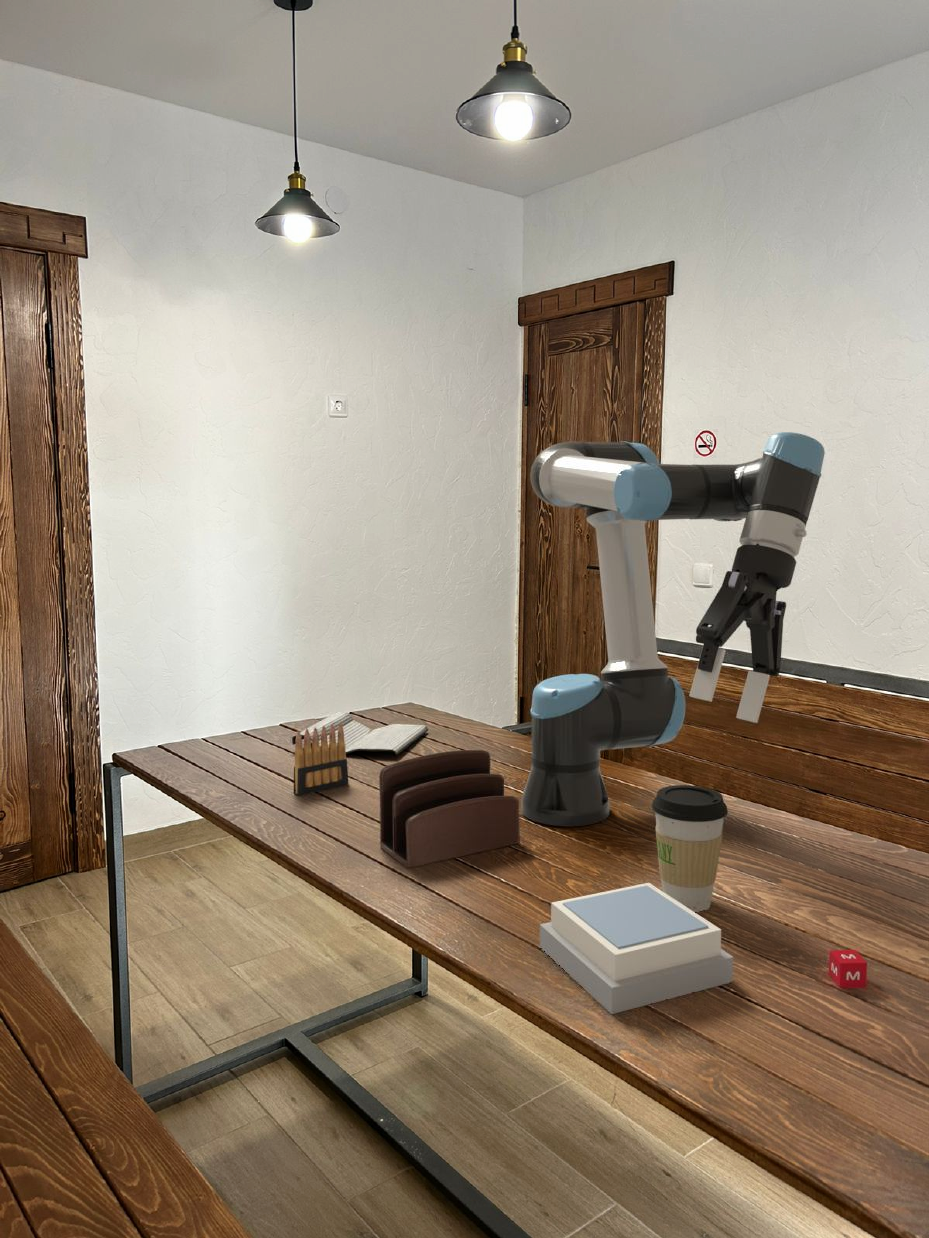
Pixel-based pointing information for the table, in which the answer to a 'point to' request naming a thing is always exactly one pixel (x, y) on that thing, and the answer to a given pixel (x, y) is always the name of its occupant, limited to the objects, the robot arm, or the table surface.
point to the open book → (376, 740)
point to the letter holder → (445, 808)
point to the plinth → (637, 984)
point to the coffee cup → (689, 842)
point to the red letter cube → (847, 968)
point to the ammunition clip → (320, 762)
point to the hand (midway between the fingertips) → (724, 710)
